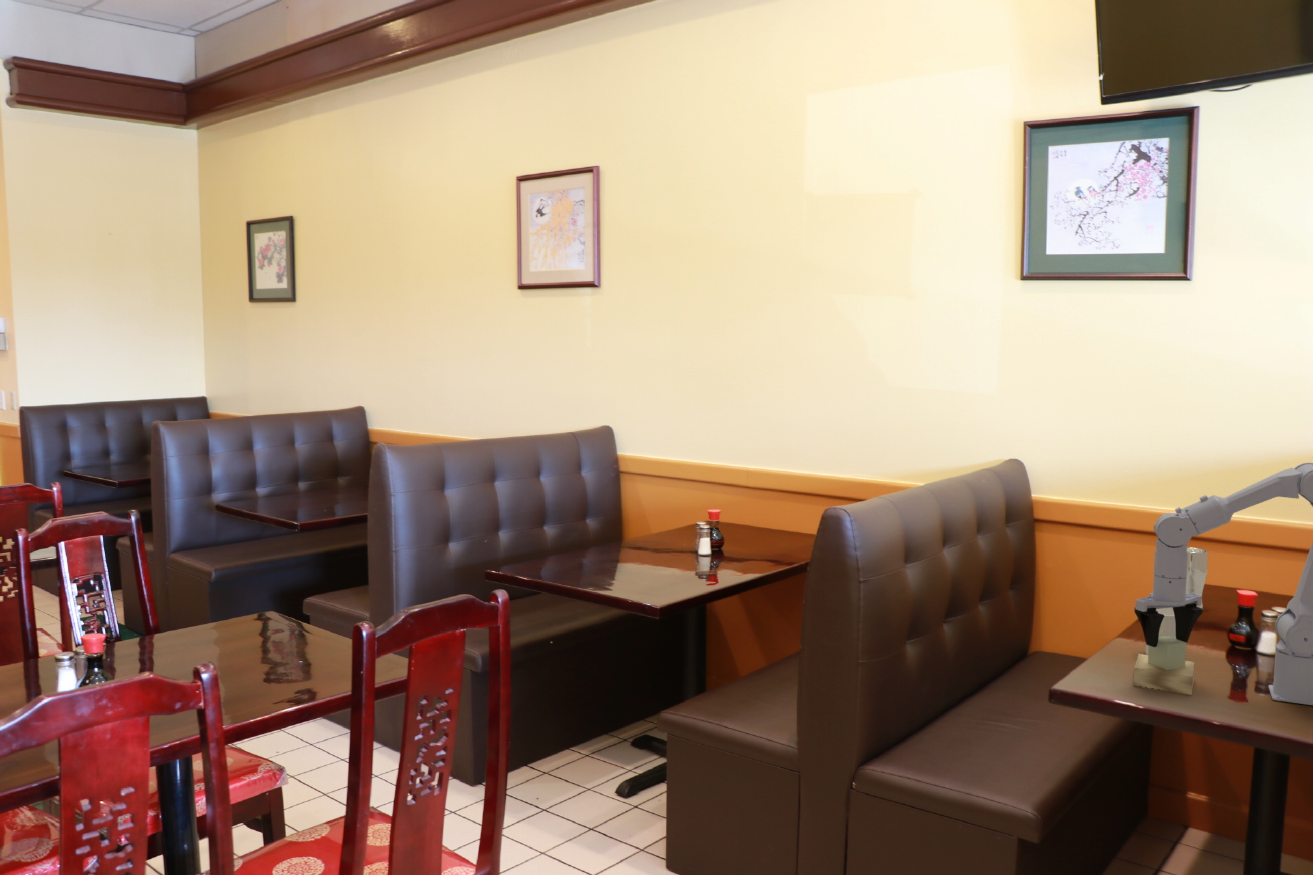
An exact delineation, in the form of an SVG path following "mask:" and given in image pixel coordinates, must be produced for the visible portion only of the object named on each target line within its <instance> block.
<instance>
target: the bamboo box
mask: <svg viewBox="0 0 1313 875" xmlns="http://www.w3.org/2000/svg"><path fill="white" fill-rule="evenodd" d="M1133 670H1134V671H1133V685H1134V686H1133V687H1139V686H1142V687H1141V688H1145V687H1147V688H1146V689H1151V688H1154V689H1153V690H1157V689H1160V691H1164V692H1170V691H1171V692H1172V693H1176V694H1177V693H1178V694H1185V695H1190V696H1192V695H1193V694H1192V693H1193V688H1194V681H1195V680H1194V677H1195V675H1194V674H1195V661H1191V660H1186V662H1185V668H1180V669H1172V670H1165V669H1162V668H1160V667H1157V666H1155V665H1152V664H1150V663H1148V655H1146V654H1143V653H1138V655H1137V658H1136V660H1135V665H1134V668H1133ZM1171 692H1170V693H1171Z"/></svg>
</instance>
